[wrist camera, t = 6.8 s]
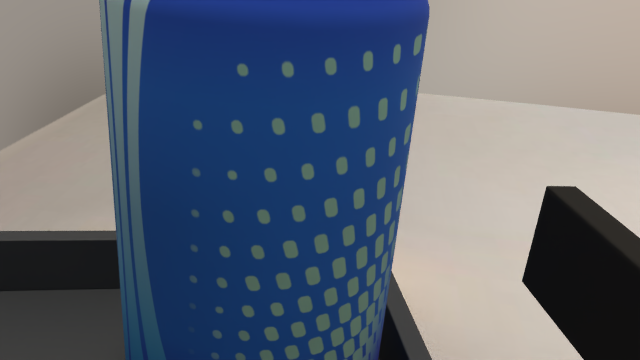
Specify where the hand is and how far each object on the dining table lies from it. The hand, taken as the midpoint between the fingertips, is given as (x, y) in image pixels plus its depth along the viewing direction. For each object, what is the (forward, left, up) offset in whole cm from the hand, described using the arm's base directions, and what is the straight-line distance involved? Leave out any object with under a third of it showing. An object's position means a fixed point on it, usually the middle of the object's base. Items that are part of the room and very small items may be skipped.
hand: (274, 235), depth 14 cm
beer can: (0, +4, -9) cm, 10 cm away
